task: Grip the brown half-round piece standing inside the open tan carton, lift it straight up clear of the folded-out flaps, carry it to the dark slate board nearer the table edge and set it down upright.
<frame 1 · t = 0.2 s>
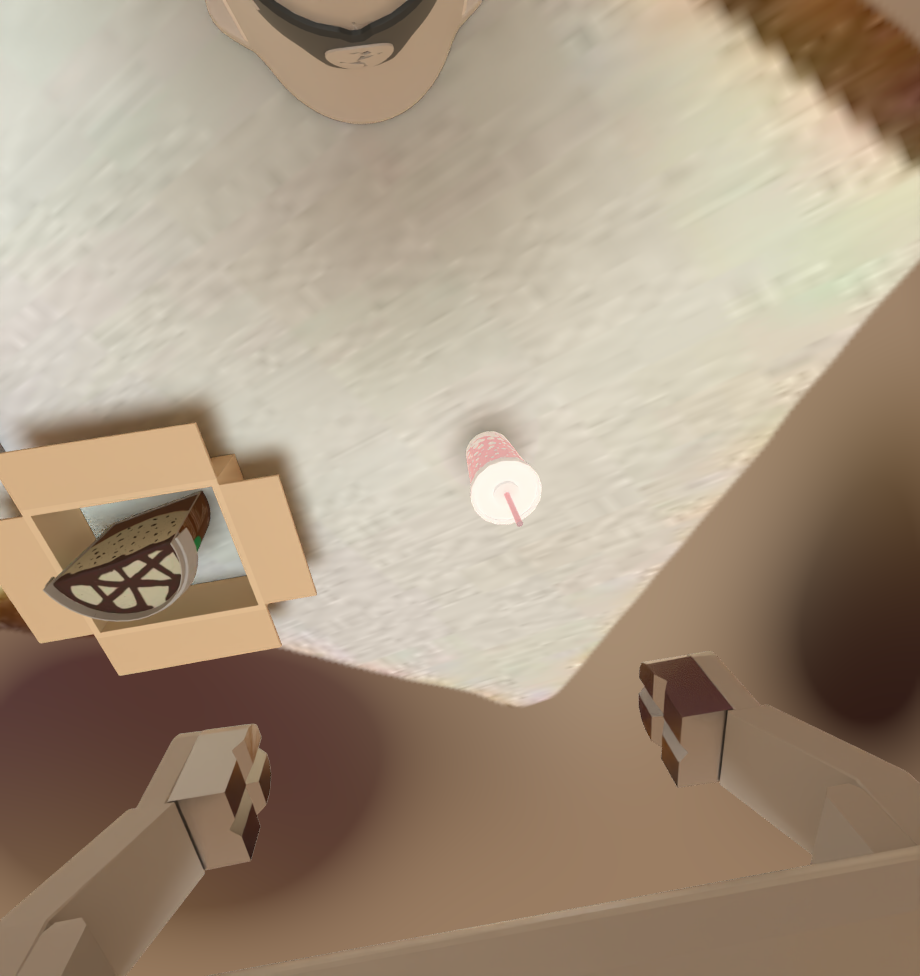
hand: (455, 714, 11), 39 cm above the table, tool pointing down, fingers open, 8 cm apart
beverage cup: (488, 451, 51), on the table
carton: (175, 531, 51), on the table
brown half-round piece: (176, 530, 51), resting in carton
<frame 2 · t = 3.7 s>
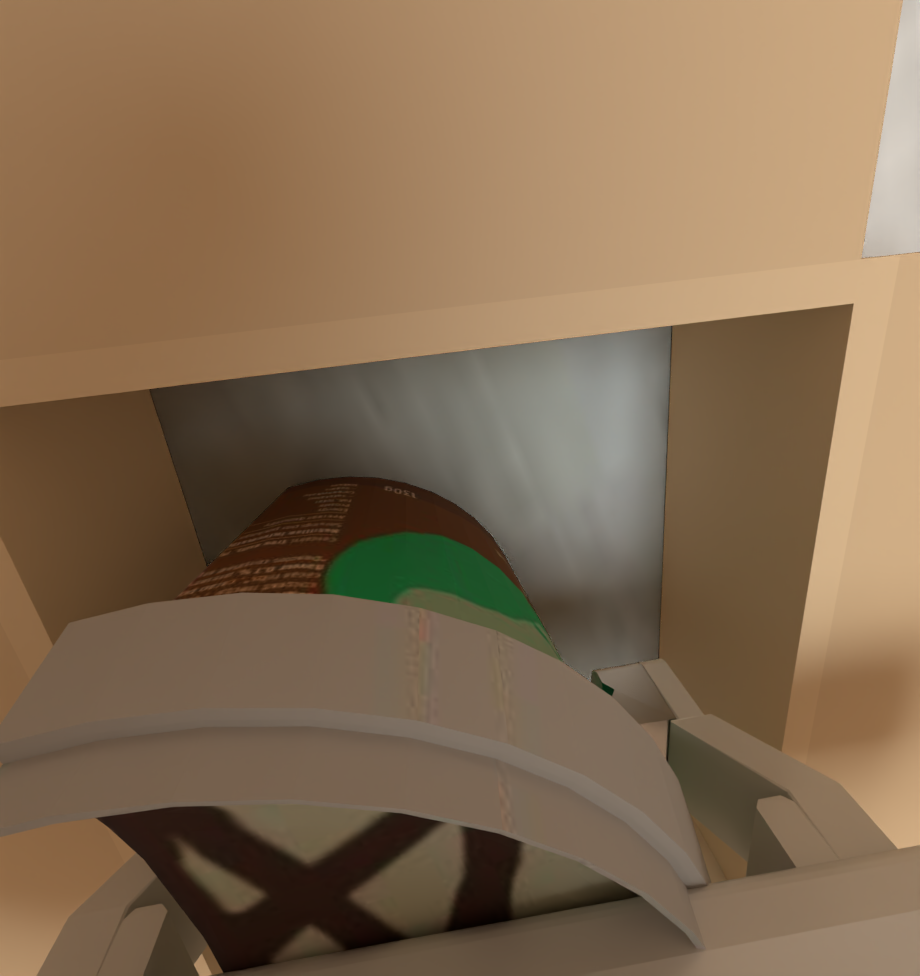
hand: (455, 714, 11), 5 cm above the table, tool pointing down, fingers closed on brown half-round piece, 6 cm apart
carton: (449, 595, 15), on the table
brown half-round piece: (451, 591, 15), resting in carton, touching gripper
when the fingers open (7 cm above the table, at t = 9.9 s): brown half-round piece stays where it is, resting on slate board.
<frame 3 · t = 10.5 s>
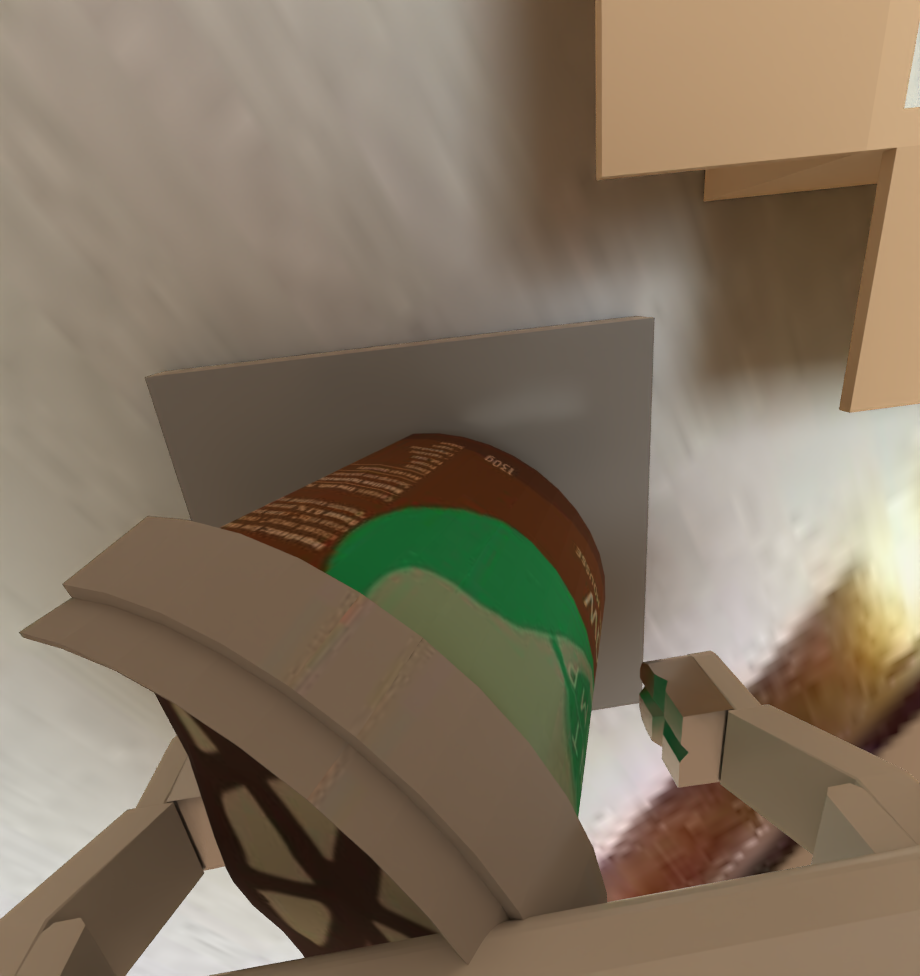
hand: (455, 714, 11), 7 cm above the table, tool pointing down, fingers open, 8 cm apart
slate board: (435, 551, 18), on the table
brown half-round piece: (541, 569, 15), point 3 cm above the table, touching gripper, slate board
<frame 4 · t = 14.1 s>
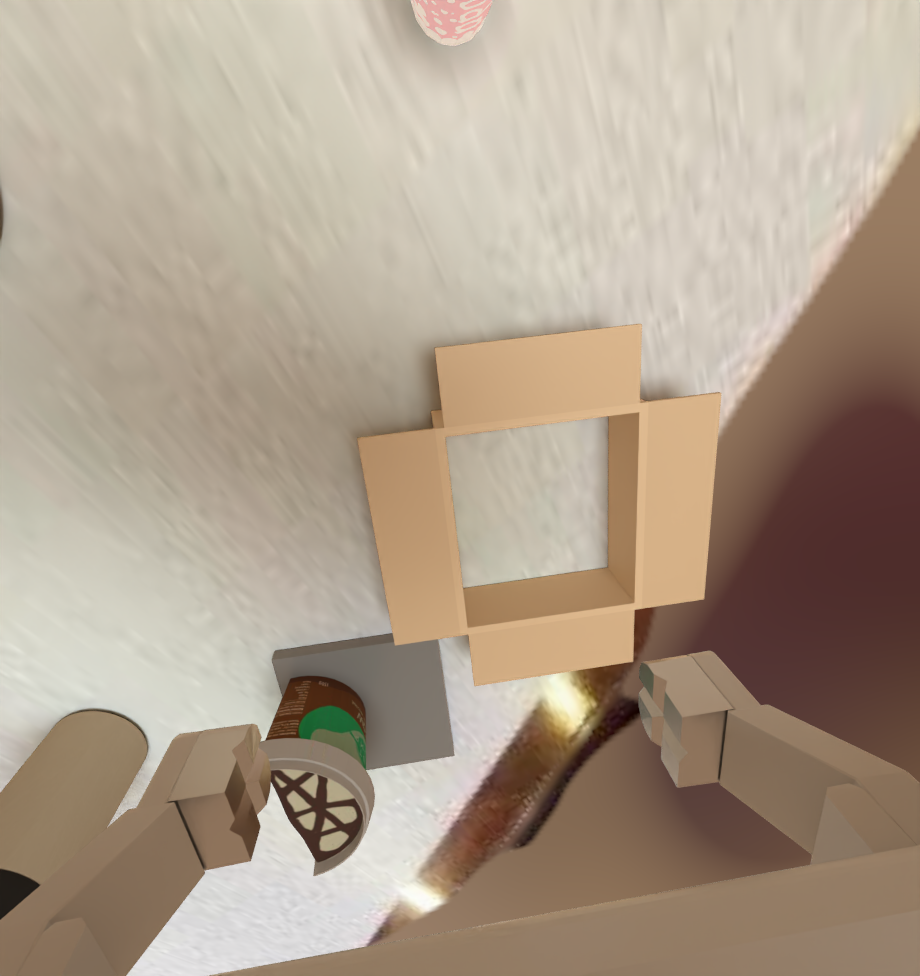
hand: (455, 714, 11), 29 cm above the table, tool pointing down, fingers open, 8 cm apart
slate board: (369, 701, 47), on the table
carton: (530, 498, 41), on the table
travel mug: (102, 740, 46), on the table
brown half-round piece: (343, 707, 45), point 1 cm above the table, touching slate board
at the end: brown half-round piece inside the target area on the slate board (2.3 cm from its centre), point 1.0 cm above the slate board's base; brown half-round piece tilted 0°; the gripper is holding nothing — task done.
